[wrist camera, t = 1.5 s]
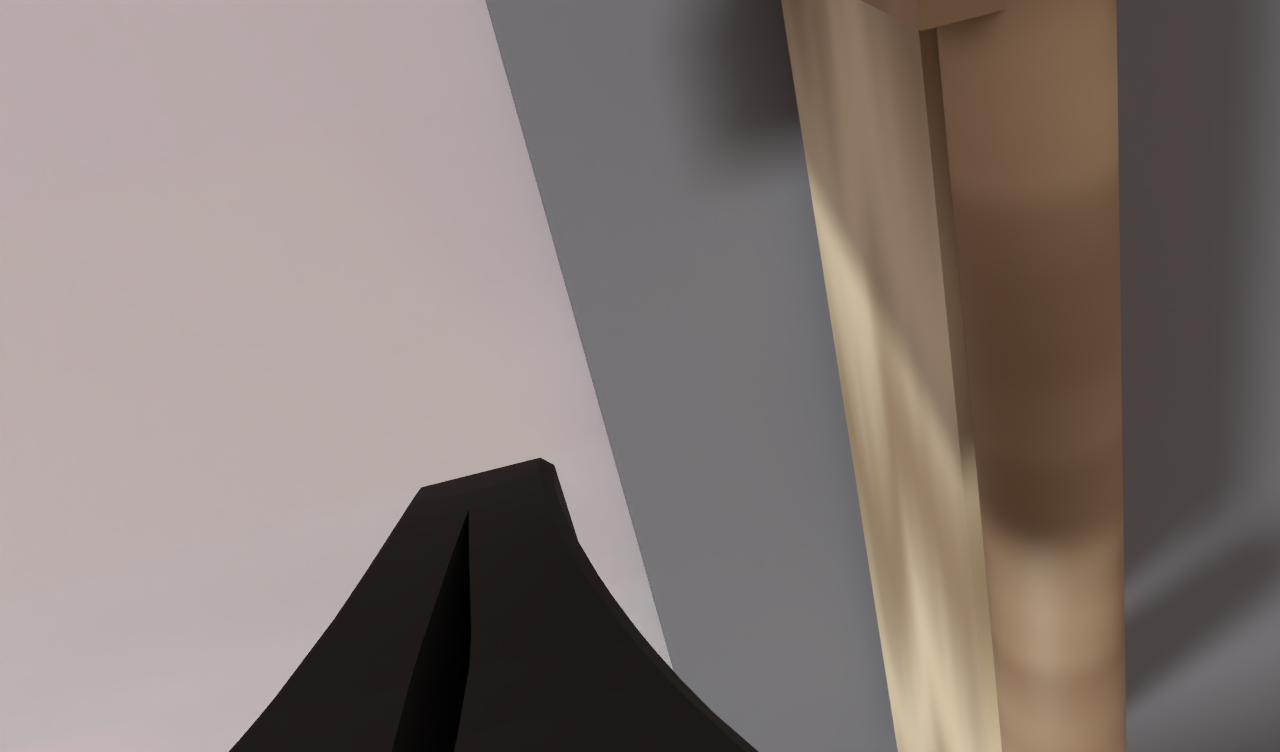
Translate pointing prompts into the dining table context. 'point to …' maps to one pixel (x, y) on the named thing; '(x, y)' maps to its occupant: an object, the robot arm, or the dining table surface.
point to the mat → (808, 370)
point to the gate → (978, 352)
